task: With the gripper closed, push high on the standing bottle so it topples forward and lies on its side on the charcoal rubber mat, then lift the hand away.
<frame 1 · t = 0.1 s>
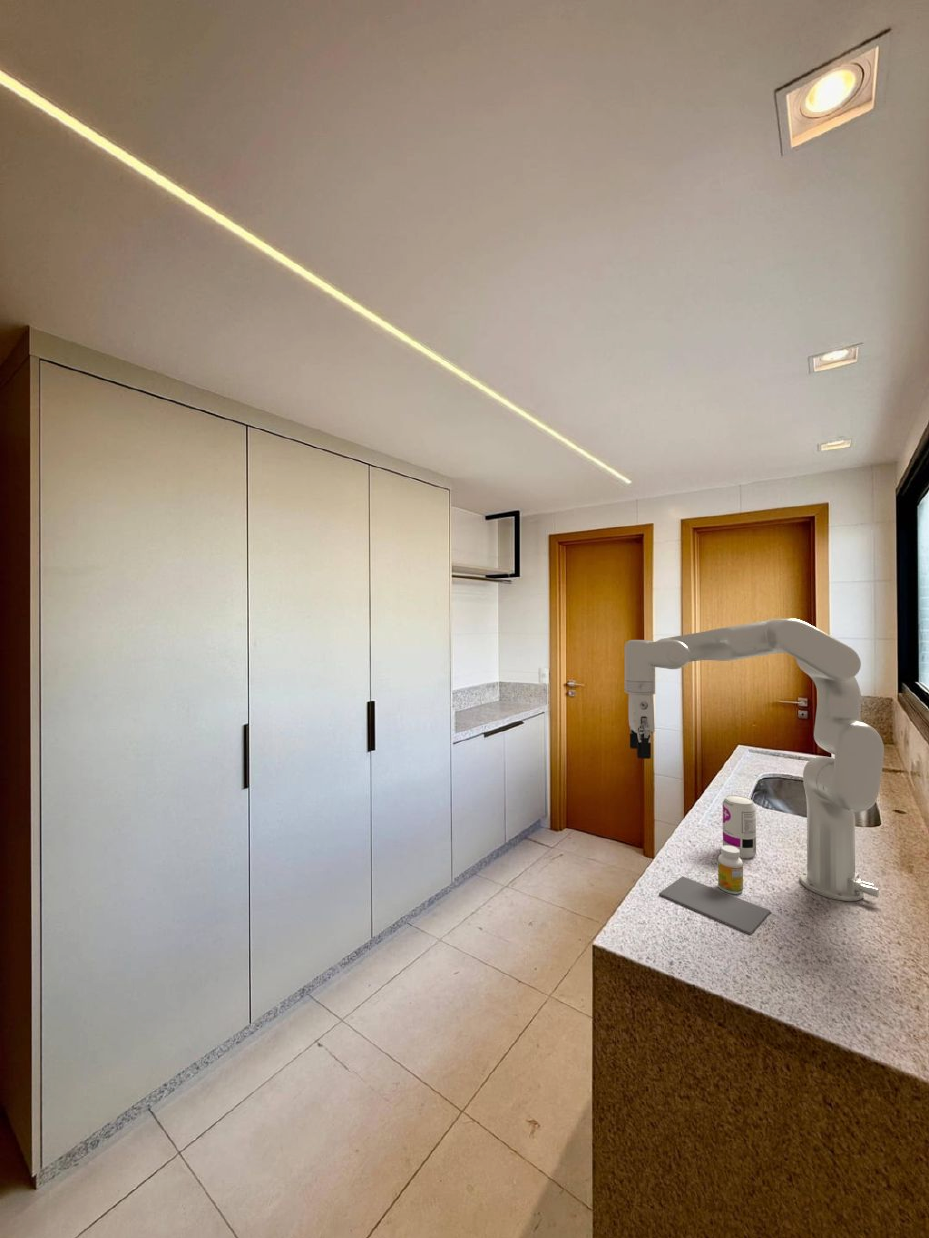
hand: (639, 753, 129), 31 cm above the table, tool pointing down, fingers open, 9 cm apart
supplement bottle: (730, 889, 121), on the table
supplement can: (739, 853, 140), on the table
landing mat: (713, 903, 114), on the table
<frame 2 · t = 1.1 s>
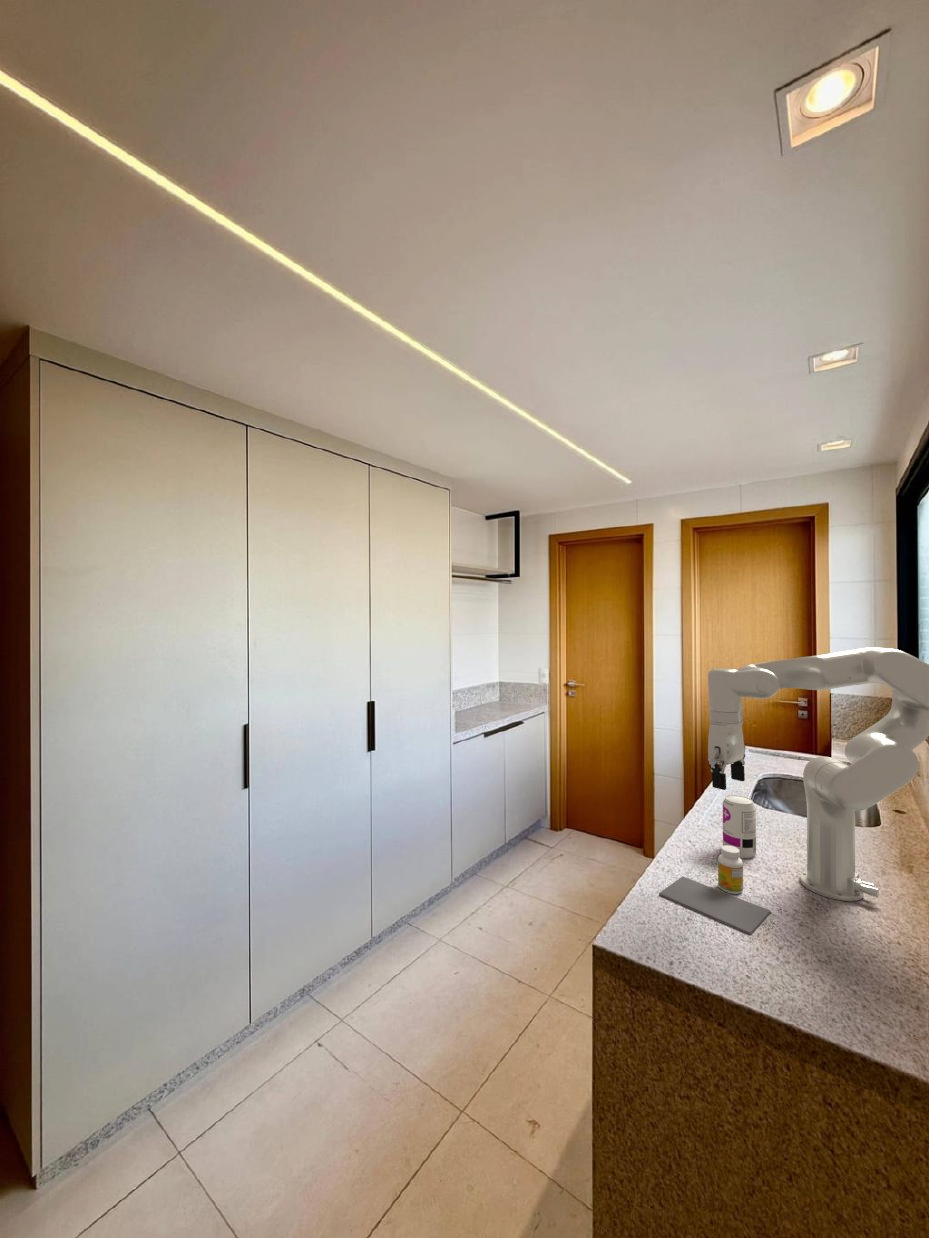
hand: (728, 784, 126), 24 cm above the table, tool pointing down, fingers open, 9 cm apart
nothing on the table moved.
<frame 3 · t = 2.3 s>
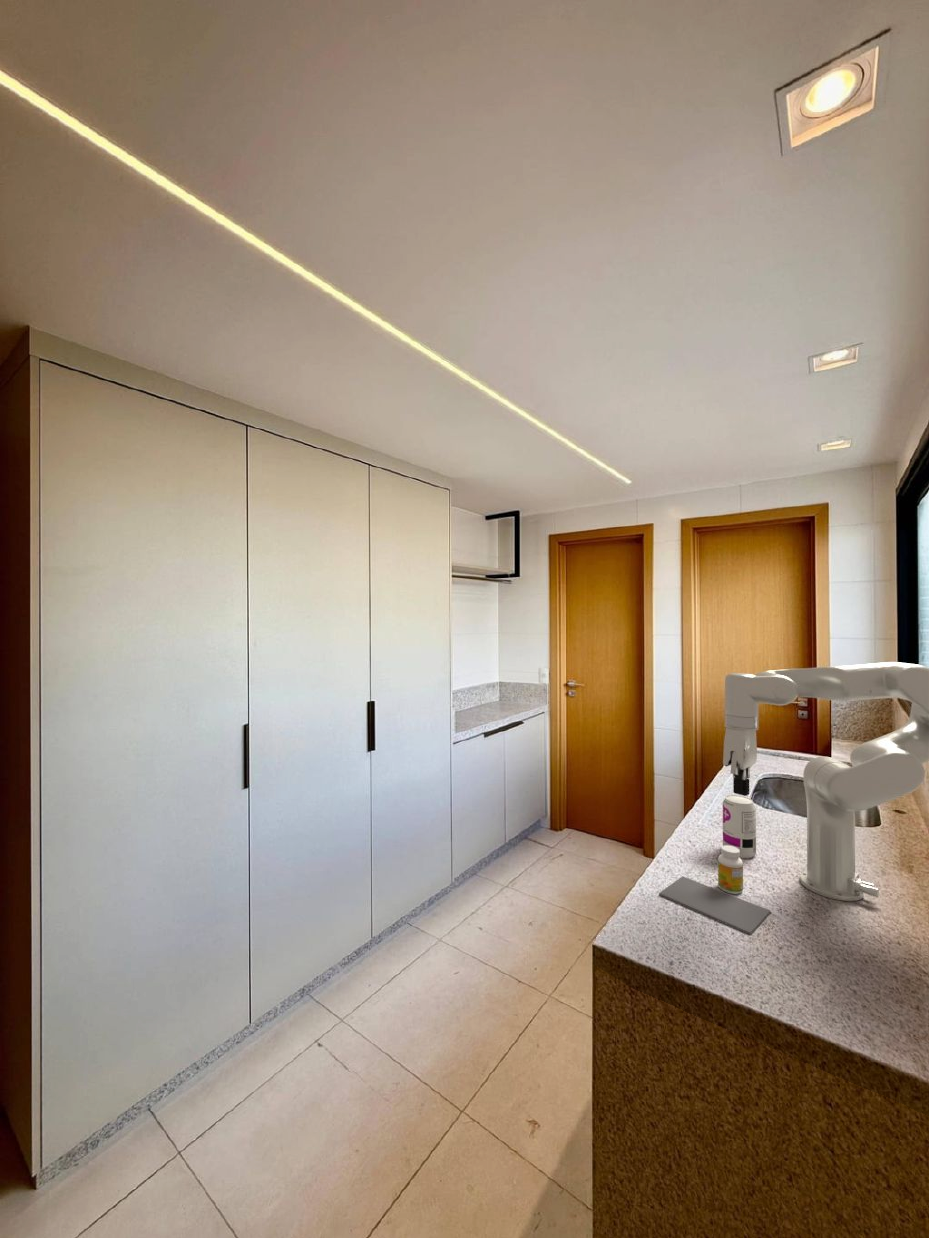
hand: (741, 793, 126), 21 cm above the table, tool pointing down, fingers closed
nothing on the table moved.
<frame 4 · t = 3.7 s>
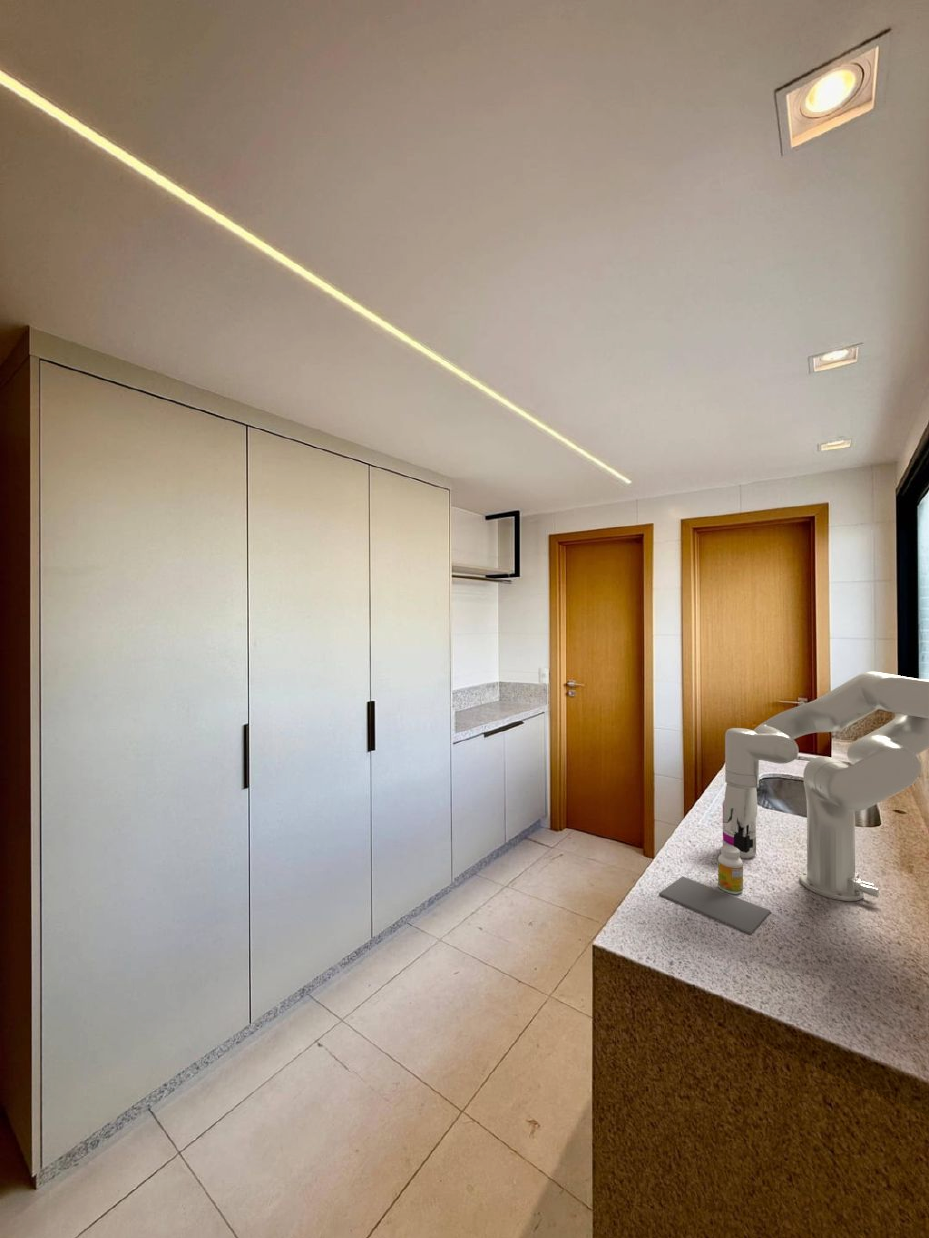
hand: (741, 849, 126), 7 cm above the table, tool pointing down, fingers closed
nothing on the table moved.
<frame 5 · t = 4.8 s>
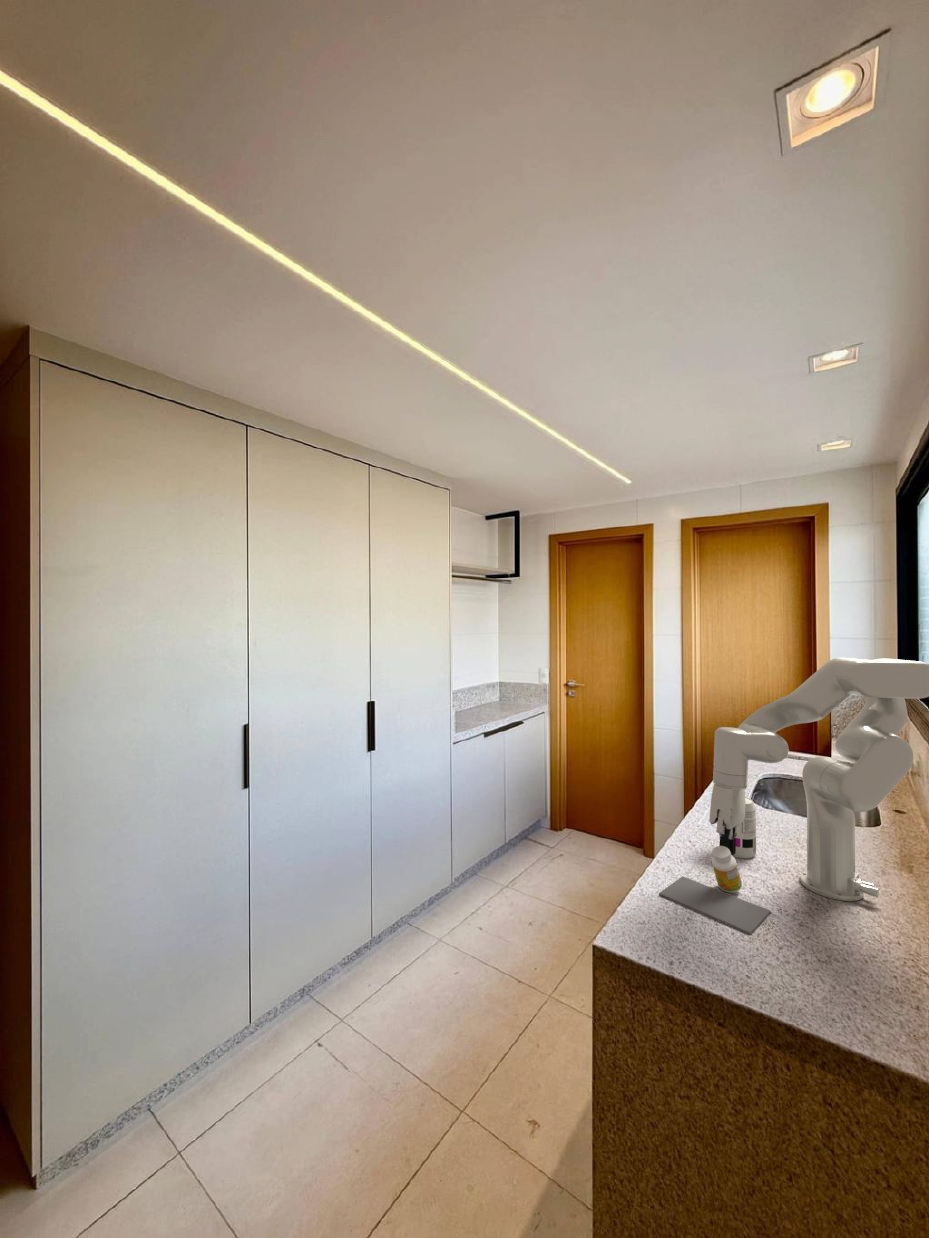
hand: (727, 852, 122), 8 cm above the table, tool pointing down, fingers closed
supplement bottle: (730, 885, 121), point 1 cm above the table, touching gripper
everything else where it was.
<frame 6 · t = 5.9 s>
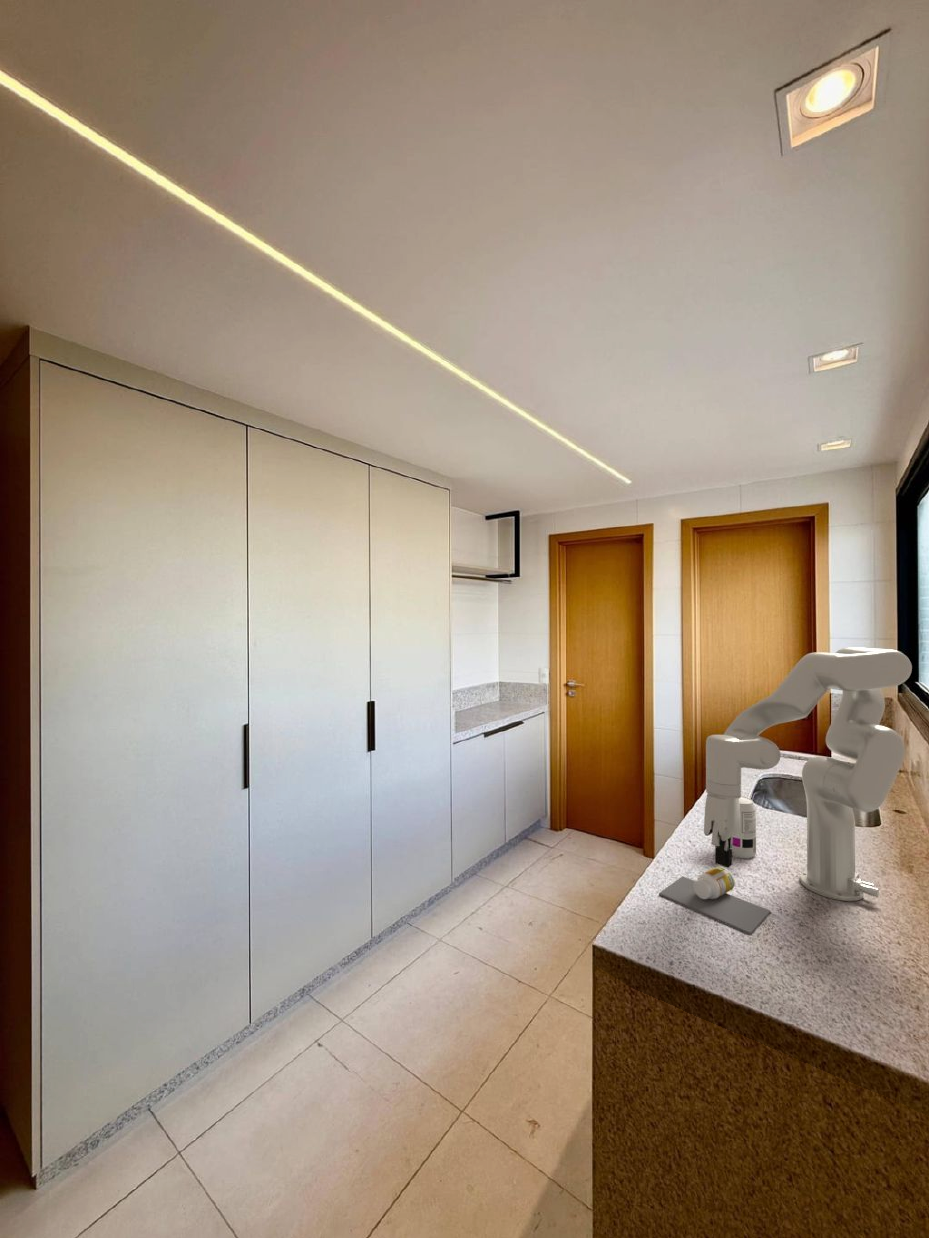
hand: (723, 864, 118), 7 cm above the table, tool pointing down, fingers closed
supplement bottle: (724, 877, 120), point 3 cm above the table, touching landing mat
everything else where it was.
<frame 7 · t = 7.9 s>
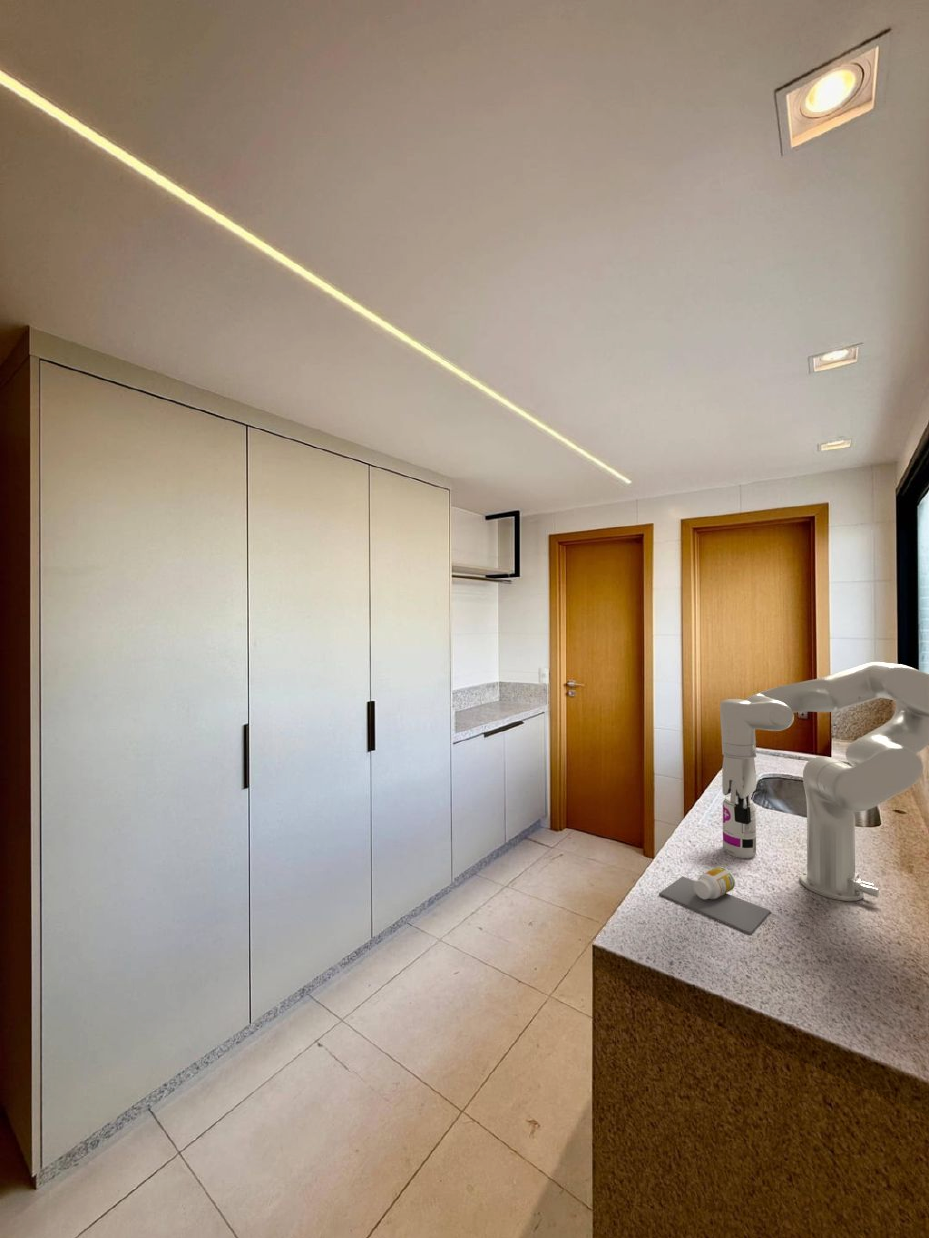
hand: (742, 822, 124), 15 cm above the table, tool pointing down, fingers closed
nothing on the table moved.
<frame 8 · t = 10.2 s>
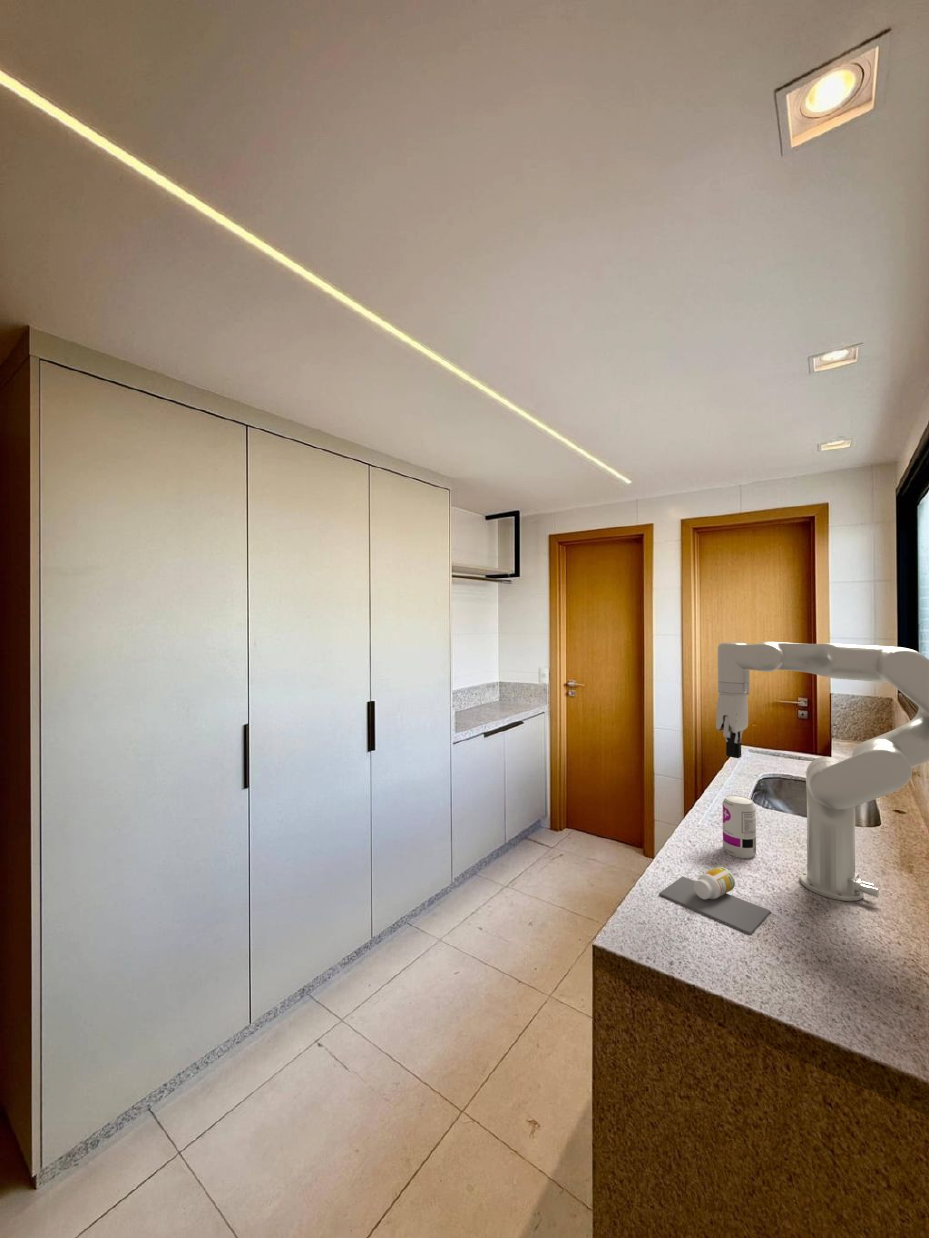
hand: (733, 756, 133), 29 cm above the table, tool pointing down, fingers closed
nothing on the table moved.
at the end: supplement bottle tilted 90°; supplement bottle touching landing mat; supplement bottle inside the target area (1.7 cm from its centre), point 3.2 cm above the table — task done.
